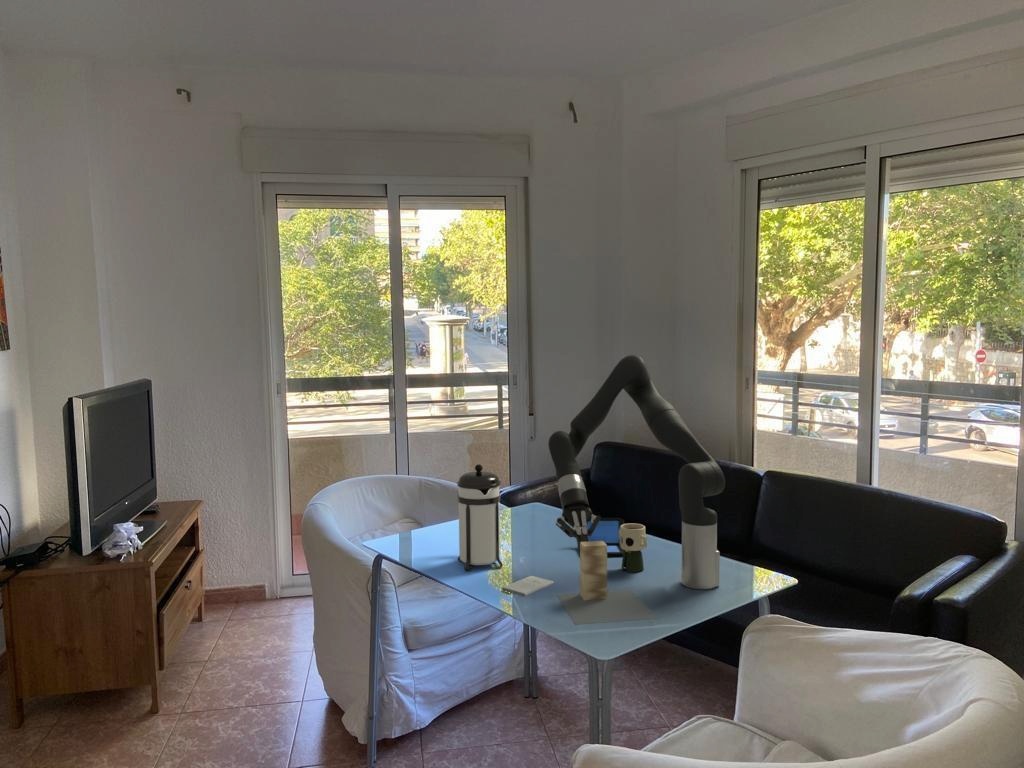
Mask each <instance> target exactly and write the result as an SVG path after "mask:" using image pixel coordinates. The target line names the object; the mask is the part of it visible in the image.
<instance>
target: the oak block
mask: <svg viewBox="0 0 1024 768" xmlns="http://www.w3.org/2000/svg"><path fill="white" fill-rule="evenodd" d="M579 561H580V562H579V568H580V569H579V574H580V575H579V580H580V581H579V582H580V583H579V584H580V585H579V591H580V592H579V593H580V595H581V597H582V598H583V600H599V599H607V591H608V557H607V545H606V544H605V543H604V542H603V541H589V542H580V552H579Z"/></svg>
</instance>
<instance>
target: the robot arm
mask: <svg viewBox="0 0 1024 768" xmlns="http://www.w3.org/2000/svg"><path fill="white" fill-rule="evenodd" d="M622 390H624V392H626V394H627V395H628V396H629V397H630V399H632V400H633V402H634V403H635V404H636V405H637V407H638V408H639V410H640V412H641V415H642V416H643V419H644V420H645V422H646V424H647V425H646V426H647V427H648V428H649V430H650V431H651V433H652V434H653V435H654V438H655V439H656V440H657V441H658V442H659V443H660V444H661V445H662V446H663V447H665V448H666V449H668V450H669V451H671V452H673V453H674V454H676V455H678V456H679V457H681V458H682V460H684V461H685V462H686V463H687V464H684V465H683V466H682V467H681V468H680V470H679V472H678V497H679V499H678V500H679V501H678V502H679V512H680V513H681V514H680V515H681V569H680V570H681V575H680V576H681V578H680V579H681V584H682V585H683V587H686V588H688V589H689V588H690V589H693V590H711V589H713V588H716V587H720V565H721V563H720V562H721V560H720V559H721V557H720V555H721V554H720V553H721V552H720V551H719V550H718V547H717V546H718V514H717V512H716V511H715V510H714V509H711V508H709V507H705V505H704V498H705V497H712V496H716V495H719V494H721V493H722V492H723V491H724V489H725V488H726V478H725V475H724V472H723V470H722V469H721V467H720V465H719V464H718V463H717V462H716V461H715V459H714V458H713V457H712V456H711V455H710V454H709V453H708V452H707V450H706V449H705V448H704V447H703V446H702V445H701V443H700V442H699V441H698V439H697V438H696V437H695V435H694V434H693V433H692V431H691V430H690V428H689V427H688V425H686V424H687V423H685V421H684V419H683V418H682V416H681V415H680V414H679V412H678V411H677V409H675V407H674V406H673V405H672V404H671V403H670V402H669V401H667V400H666V399H665V398H663V397H662V396H661V394H660V393H659V391H658V390H657V388H656V387H655V385H654V382H653V380H652V378H651V375H650V373H649V370H648V368H647V365H646V363H645V361H644V360H643V358H642V357H641V356H638V355H636V354H629V355H627V356H624V357H623V358H621V359H620V360H619V362H618V363H617V364H616V365H615V367H613V369H612V371H611V372H610V374H609V375H608V377H607V378H606V379H605V381H604V382H603V384H602V385H601V386H600V388H599V389H598V391H597V392H596V393H595V395H594V396H593V397H592V399H591V400H590V401H589V402H588V403H587V404H586V405H585V406H584V408H582V410H580V412H579V413H578V414H577V415H576V416H574V418H573V419H572V420H571V422H570V424H569V425H570V426H569V427H570V432H569V433H568V432H566V431H563V430H557V431H555V432H553V433H552V434H551V435H550V436H549V439H548V444H547V445H548V449H549V453H550V456H551V460H552V462H553V465H554V468H555V475H556V479H557V480H556V481H557V489H558V495H559V500H560V505H561V511H562V513H561V517H557V519H556V521H555V522H556V523H555V525H556V527H558V528H559V529H560V530H561V531H562V532H563V533H564V534H565V535H567V536H568V537H569V538H575V540H576V544H577V549H578V548H579V549H580V542H589V541H588V536H591V535H592V533H593V532H594V530H595V528H596V527H597V525H598V523H599V521H600V519H601V518H602V516H601V515H595V514H593V511H592V510H591V508H590V505H589V500H588V495H587V488H586V486H585V483H584V480H583V477H582V473H581V469H580V466H579V463H578V462H577V459H576V458H577V457H578V455H579V454H580V452H581V451H582V450H583V448H584V447H585V444H586V443H587V440H588V439H589V437H590V436H591V435H592V434H593V433H594V432H595V431H596V430H597V429H598V428H599V427H600V426H601V425H602V424H603V422H604V421H605V419H606V417H607V416H608V414H609V412H610V410H611V408H612V406H613V403H614V402H615V400H616V398H617V397H618V395H619V394H620V393H621V392H622ZM590 518H591V519H592V520H591V522H592V525H591V526H590V528H589V529H588V530H587V524H588V522H589V520H590Z"/></svg>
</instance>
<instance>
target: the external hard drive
mask: <svg viewBox="0 0 1024 768" xmlns="http://www.w3.org/2000/svg"><path fill="white" fill-rule="evenodd" d="M553 584H555V582H554V581H553V580H550V579H547V578H543V577H539V576H536V575H535V576H534V575H529V576H527V577H525V578H522V579H519V580H517V581H515V582H514V581H513V582H512V583H509V584H506V585H504V586H502V587H501V591H502V590H503V591H502V592H504V591H507V592H510V593H509V594H511V593H514V594H518V595H521V596H529V595H530V594H533V593H535V592H537V591H540V590H542V589H544V588H546V587H549V586H551V585H553ZM507 592H506V593H507Z"/></svg>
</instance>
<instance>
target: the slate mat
mask: <svg viewBox="0 0 1024 768" xmlns="http://www.w3.org/2000/svg"><path fill="white" fill-rule="evenodd" d="M556 596H557V598H558V600H559V601H560V603H561V604H562V606H563V608H564V609H565V611H566V612H567V614H568V615H569V617H570V619H571V620H572V622H573V623H574V625H586V624H587V625H588V624H603V623H616V622H630V621H642V620H655V619H656V620H657V619H658V618H657V617H656V615H655V614H654V613H653V612H652V611H651V610H650V609H649V608H648V607H647V606H646V605H645V604H644V603H643V601H641V599H640V598H639V597H638V596H637V595H636V594H635V593H634V592H633V590H631V589H621V590H620V589H619V590H618V589H617V590H607V599H599V600H583V598H582V597H581V595H580V592H575V593H572V592H571V593H561V594H558V593H556Z"/></svg>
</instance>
